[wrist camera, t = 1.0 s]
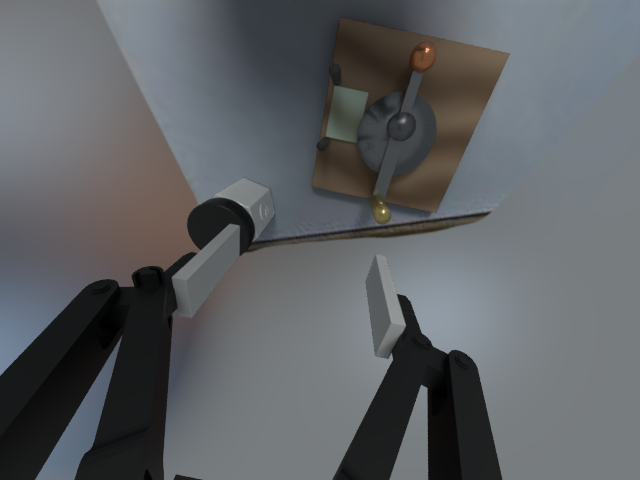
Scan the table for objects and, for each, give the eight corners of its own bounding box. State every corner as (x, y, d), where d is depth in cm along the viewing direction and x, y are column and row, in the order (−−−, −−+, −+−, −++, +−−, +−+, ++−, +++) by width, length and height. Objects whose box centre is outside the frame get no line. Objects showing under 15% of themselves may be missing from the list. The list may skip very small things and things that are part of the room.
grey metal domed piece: (380, 37, 26) (393, 8, 19) (464, 55, 26) (507, 32, 19) (342, 197, 35) (341, 216, 29) (404, 210, 36) (419, 232, 29)
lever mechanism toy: (340, 22, 27) (339, -9, 21) (502, 56, 27) (552, 36, 21) (312, 184, 37) (305, 198, 30) (432, 209, 37) (451, 229, 30)
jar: (279, 225, 41) (256, 261, 30) (236, 228, 42) (201, 264, 32) (268, 174, 37) (237, 197, 26) (221, 179, 38) (174, 203, 27)
